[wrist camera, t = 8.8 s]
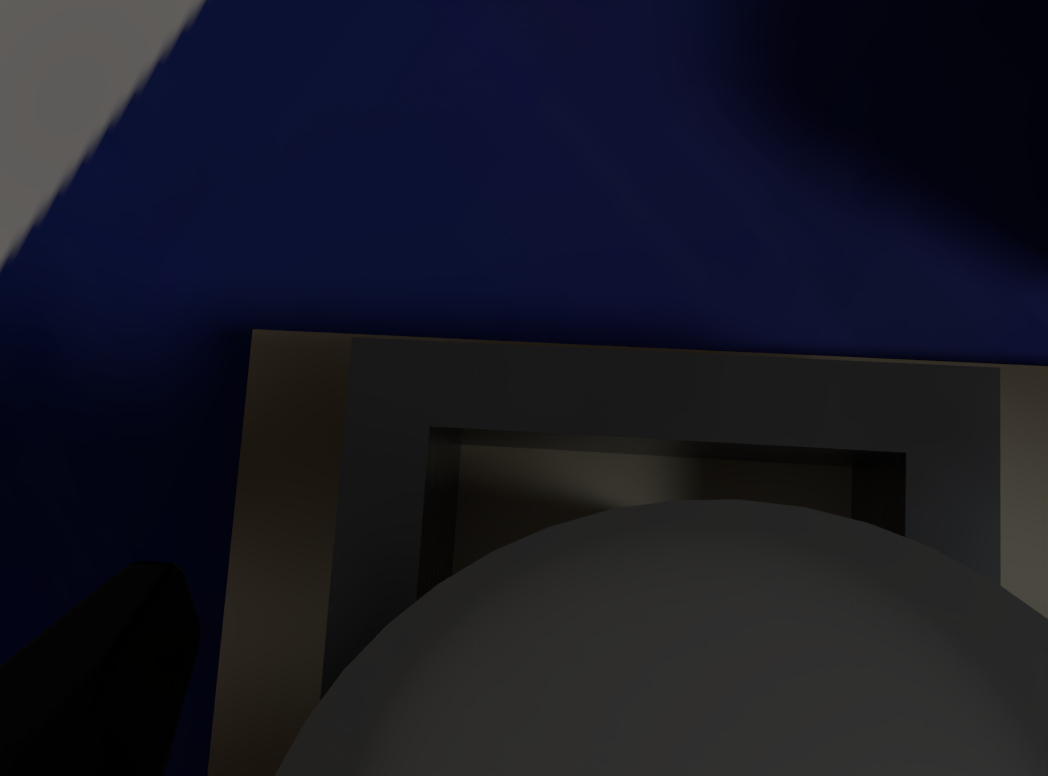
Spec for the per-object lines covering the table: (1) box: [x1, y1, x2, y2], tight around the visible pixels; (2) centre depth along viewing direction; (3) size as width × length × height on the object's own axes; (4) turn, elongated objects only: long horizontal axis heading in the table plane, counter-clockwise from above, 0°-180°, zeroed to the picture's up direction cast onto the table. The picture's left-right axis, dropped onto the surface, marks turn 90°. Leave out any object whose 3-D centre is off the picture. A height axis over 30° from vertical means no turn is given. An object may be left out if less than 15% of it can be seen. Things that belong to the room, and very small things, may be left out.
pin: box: [275, 499, 1048, 776], centre depth 10 cm, size 4×4×12 cm
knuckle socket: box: [320, 337, 1001, 701], centre depth 15 cm, size 9×9×3 cm
